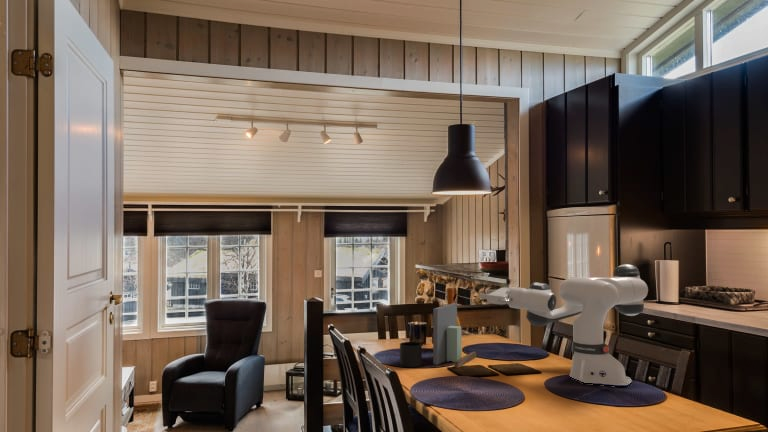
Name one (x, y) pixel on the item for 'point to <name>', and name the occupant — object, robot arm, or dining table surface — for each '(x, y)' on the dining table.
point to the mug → (410, 354)
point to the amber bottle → (451, 300)
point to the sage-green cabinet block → (453, 343)
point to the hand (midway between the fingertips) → (483, 293)
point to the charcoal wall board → (445, 334)
